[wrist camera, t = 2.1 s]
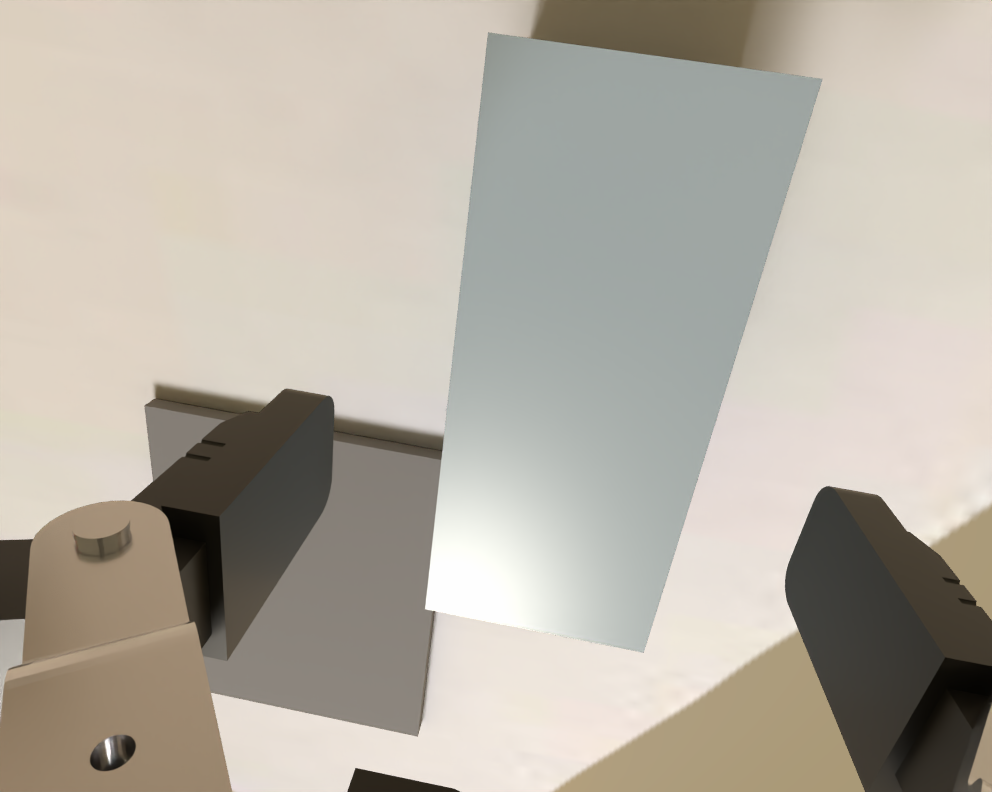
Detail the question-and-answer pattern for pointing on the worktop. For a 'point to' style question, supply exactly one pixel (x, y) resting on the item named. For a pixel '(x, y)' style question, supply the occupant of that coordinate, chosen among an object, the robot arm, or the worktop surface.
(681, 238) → the cover
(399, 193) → the worktop surface
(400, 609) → the mat
